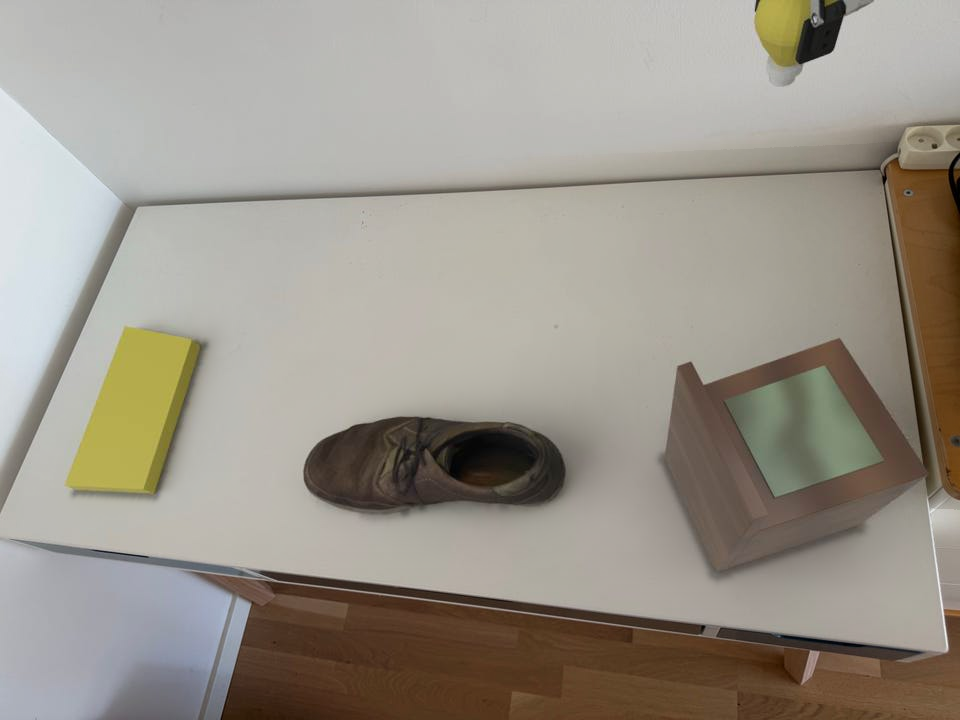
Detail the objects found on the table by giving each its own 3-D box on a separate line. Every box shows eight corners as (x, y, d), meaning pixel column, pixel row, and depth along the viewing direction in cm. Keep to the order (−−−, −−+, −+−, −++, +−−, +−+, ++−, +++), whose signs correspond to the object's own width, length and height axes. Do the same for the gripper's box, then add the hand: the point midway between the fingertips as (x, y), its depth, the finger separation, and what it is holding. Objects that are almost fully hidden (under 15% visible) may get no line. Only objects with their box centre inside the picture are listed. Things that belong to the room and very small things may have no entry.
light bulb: (830, 60, 62) (860, -43, 54) (805, 109, 60) (832, 11, 52) (759, 48, 65) (777, -52, 56) (733, 94, 63) (748, -2, 54)
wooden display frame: (794, 413, 72) (861, 301, 51) (859, 525, 66) (964, 449, 45) (664, 458, 73) (677, 365, 52) (715, 572, 67) (753, 520, 46)
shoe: (331, 415, 84) (297, 384, 76) (571, 437, 76) (563, 404, 68) (306, 506, 79) (266, 484, 71) (559, 539, 72) (549, 519, 63)
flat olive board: (154, 493, 85) (205, 331, 95) (143, 489, 83) (196, 324, 93) (76, 489, 88) (134, 333, 98) (64, 485, 86) (124, 325, 96)
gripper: (987, -175, 38) (888, 76, 54) (831, -276, 47) (784, -35, 62) (863, -126, 39) (800, 108, 54) (731, -235, 47) (709, -6, 63)
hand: (792, 30), depth 58 cm, fingers closed on light bulb, 6 cm apart
